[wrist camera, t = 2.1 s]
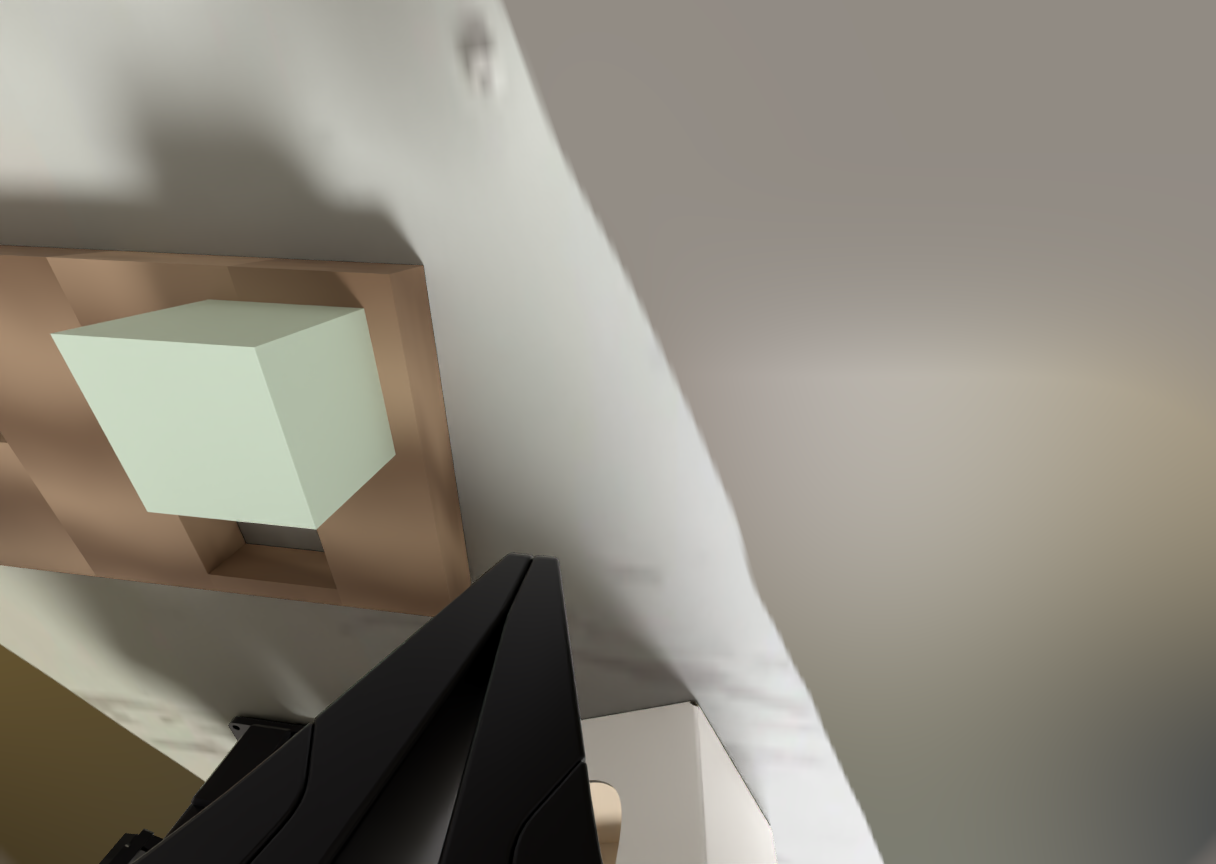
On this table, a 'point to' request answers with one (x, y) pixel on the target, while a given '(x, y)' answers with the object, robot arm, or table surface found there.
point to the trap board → (203, 547)
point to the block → (237, 407)
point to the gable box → (670, 791)
